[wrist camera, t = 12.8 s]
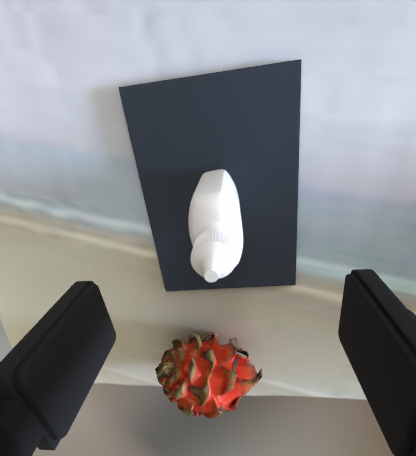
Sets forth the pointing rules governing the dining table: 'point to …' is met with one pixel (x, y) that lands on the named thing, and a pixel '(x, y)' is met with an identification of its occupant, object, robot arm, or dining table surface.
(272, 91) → the mat
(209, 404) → the dragon fruit
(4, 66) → the dining table surface
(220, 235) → the eye dropper bottle
